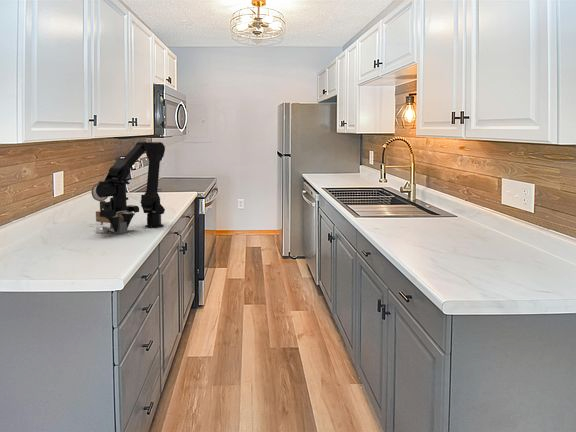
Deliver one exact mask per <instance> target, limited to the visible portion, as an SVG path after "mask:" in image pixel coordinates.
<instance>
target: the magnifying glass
mask: <svg viewBox="0 0 576 432" xmlns="http://www.w3.org/2000/svg"><path fill="white" fill-rule="evenodd" d="M97 185H99V182H98V183H96V184H95V185H93V186H92V188H91V196H92V198H93V199H94V200H95V201H98V202H99V203H100V202H101V201H106V200H107V199H108V197H102V198H100V197H99V196H98V195H97V194H96V187H97ZM101 210H103V209H101V208H100V207H99V211H101ZM100 224H101V225H104V222H100Z"/></svg>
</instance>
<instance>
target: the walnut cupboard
mask: <svg viewBox="0 0 576 432" xmlns="http://www.w3.org/2000/svg"><path fill="white" fill-rule="evenodd" d="M117 212H118V211H117ZM117 216H118V217H119V221H124V220H123V216H122V215H121V213H119V214H117ZM95 222H96V223H101V222H103V224H104V223H105V224H109V228H113V227H112V224H111V222H110V220H109V219H108V218H105V217H100V210H96V211H95Z"/></svg>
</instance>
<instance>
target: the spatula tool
mask: <svg viewBox="0 0 576 432" xmlns="http://www.w3.org/2000/svg"><path fill="white" fill-rule="evenodd" d="M108 232H111V233H113V234H115V235H124V234H128V228H127V222H124V221H119V223H118V230H117V232H115V231H114V229H113V228H110V227H108Z"/></svg>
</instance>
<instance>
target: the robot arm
mask: <svg viewBox="0 0 576 432" xmlns="http://www.w3.org/2000/svg"><path fill="white" fill-rule="evenodd" d="M165 151H166V146H165V144H164V143H163V142H161V141H149V142H148V141H138V142H136V143H135V146H134V147H132V149H131V150H130V151H129V152H128V153H127V154H126V155H125V156H124V158H123V159H122V160H120V161H118V162H116V163H114V164H113V165H112V166H111V167H110V168H109V170H108V173H107V175H106V176H105V179H103V180H99V181H98V183H99V185H97V187H96V194H97V195H98V196H99V197H100V198H102V197H107V198H109V201H107V200H104V201H101V202H100V201H99V209H100V208H101V209H103V210H101V211H100V210H99V211H100V217H105V218H108V219H109V220H110V222H111V224H112V227H113V229H114V231H115V232H117V230H118V223H119V217H118V216H117V214H119V213H121V215H122V216H123V220H124V222H127V229H128V228H129V225H130V223H131V221H132V219H133V217H134V216H135V215H136V213H139V212H140V207H139V205H135V204H134V205H132V204H129V205H127V204H128V203H127V201H128V200H129V196H127V185H130V182H129V181H128V179H127V178H128V177H129V175H130V174H131V168H132V167H133V166H134V165H135V164H136V163H137V161H138V160H139V159H140V158H141V157H142V155H143V154H144V153H145V155H146V157H147V160H148V168H147V180H146V181H147V182H146V191H145V193H144V194H141V195H140V202H139V203H140V206H141V208H142V211H143V214H146V225H144V227H148V228H158V227H164V226H165V224H162V215H163V214H165V211H166V209H165V207H164V206H163V205H162V203H161V197H160V196H159V193H158V190H159V188H158V187H159V176H160V164H161V161H162V160H163V158H164V156H165ZM117 211H118V212H117Z"/></svg>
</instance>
